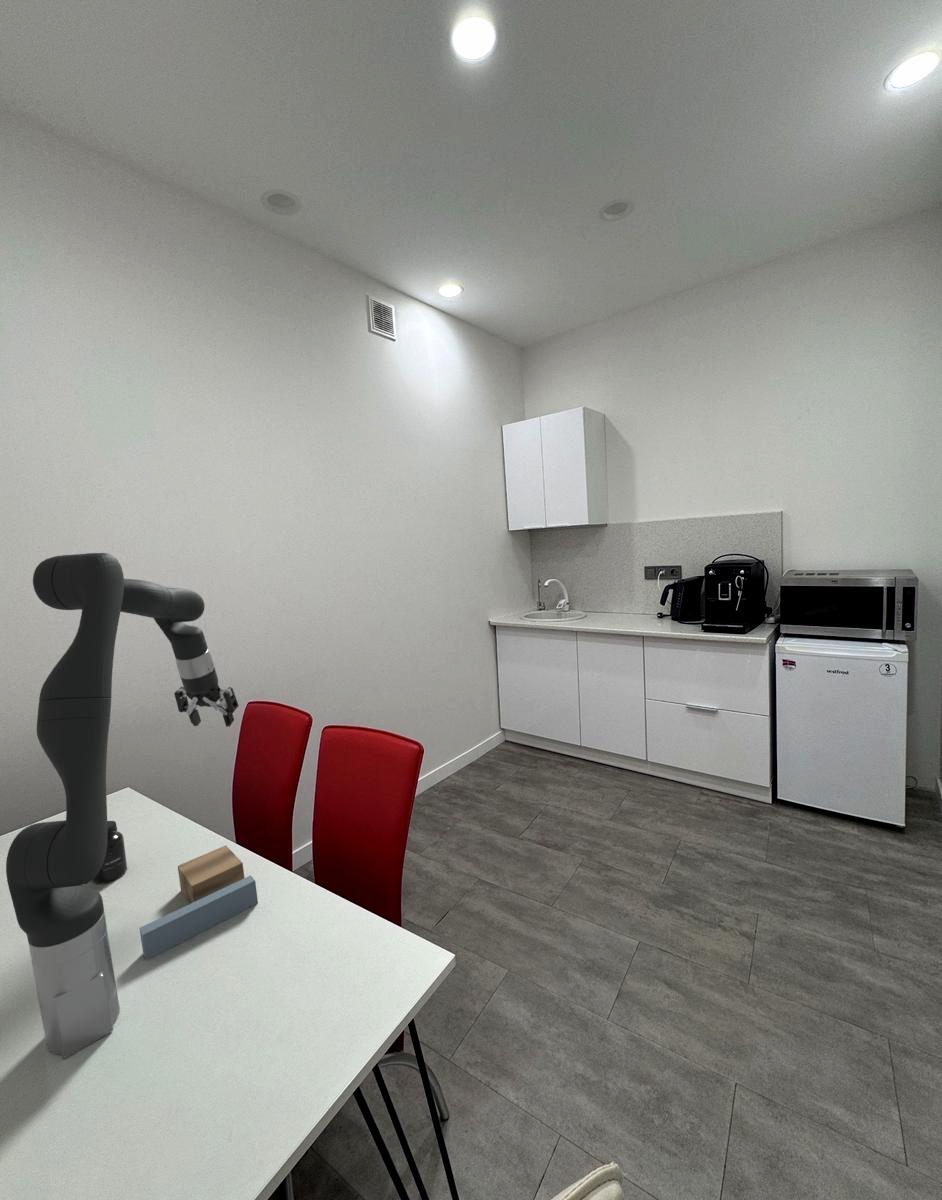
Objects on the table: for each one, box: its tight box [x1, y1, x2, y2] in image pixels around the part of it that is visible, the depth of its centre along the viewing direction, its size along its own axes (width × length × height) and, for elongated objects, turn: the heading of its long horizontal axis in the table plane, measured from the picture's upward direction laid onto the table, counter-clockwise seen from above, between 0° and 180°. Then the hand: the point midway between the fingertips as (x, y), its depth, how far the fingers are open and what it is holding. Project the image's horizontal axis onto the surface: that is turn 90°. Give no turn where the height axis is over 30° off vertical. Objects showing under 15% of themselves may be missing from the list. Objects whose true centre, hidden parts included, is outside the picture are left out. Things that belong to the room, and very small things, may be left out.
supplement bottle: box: [91, 820, 128, 885], centre depth 120 cm, size 7×7×12 cm
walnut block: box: [177, 844, 245, 905], centre depth 113 cm, size 10×10×6 cm
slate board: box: [139, 875, 259, 961], centre depth 102 cm, size 2×20×5 cm, turn 133°
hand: (213, 724), depth 132 cm, fingers open, 8 cm apart
